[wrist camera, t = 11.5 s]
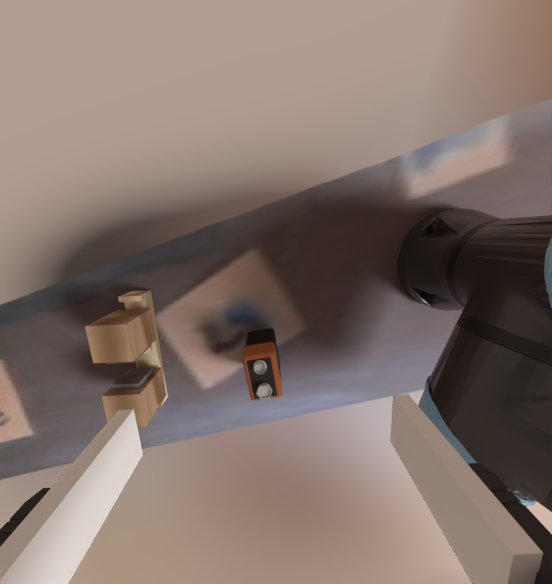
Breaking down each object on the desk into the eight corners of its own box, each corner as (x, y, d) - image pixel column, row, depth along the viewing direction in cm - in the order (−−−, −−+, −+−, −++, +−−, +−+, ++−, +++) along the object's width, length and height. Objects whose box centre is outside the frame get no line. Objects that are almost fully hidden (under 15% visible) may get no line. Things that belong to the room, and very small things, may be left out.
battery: (254, 368, 44) (250, 407, 34) (247, 331, 42) (240, 360, 33) (280, 364, 44) (282, 401, 34) (273, 327, 42) (274, 355, 33)
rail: (157, 289, 40) (123, 306, 31) (173, 396, 45) (148, 439, 35) (125, 291, 40) (82, 308, 31) (144, 397, 45) (111, 441, 35)
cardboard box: (151, 308, 38) (125, 324, 32) (157, 344, 40) (133, 367, 33) (117, 309, 38) (85, 326, 32) (124, 345, 40) (94, 369, 33)
